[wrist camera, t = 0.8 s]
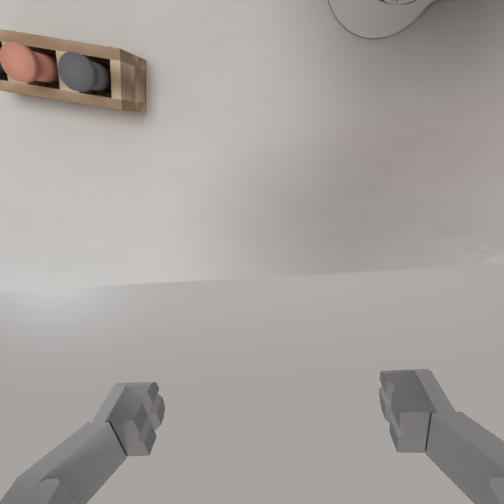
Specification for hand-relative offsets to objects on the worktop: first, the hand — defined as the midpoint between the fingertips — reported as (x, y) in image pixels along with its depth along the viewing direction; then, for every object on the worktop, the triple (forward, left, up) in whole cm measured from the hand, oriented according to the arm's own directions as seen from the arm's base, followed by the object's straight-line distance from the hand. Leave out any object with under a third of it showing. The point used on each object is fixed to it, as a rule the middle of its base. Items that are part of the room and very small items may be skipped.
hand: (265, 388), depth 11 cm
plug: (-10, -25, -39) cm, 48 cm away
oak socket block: (-10, -32, -43) cm, 55 cm away
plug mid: (-10, -32, -39) cm, 52 cm away
